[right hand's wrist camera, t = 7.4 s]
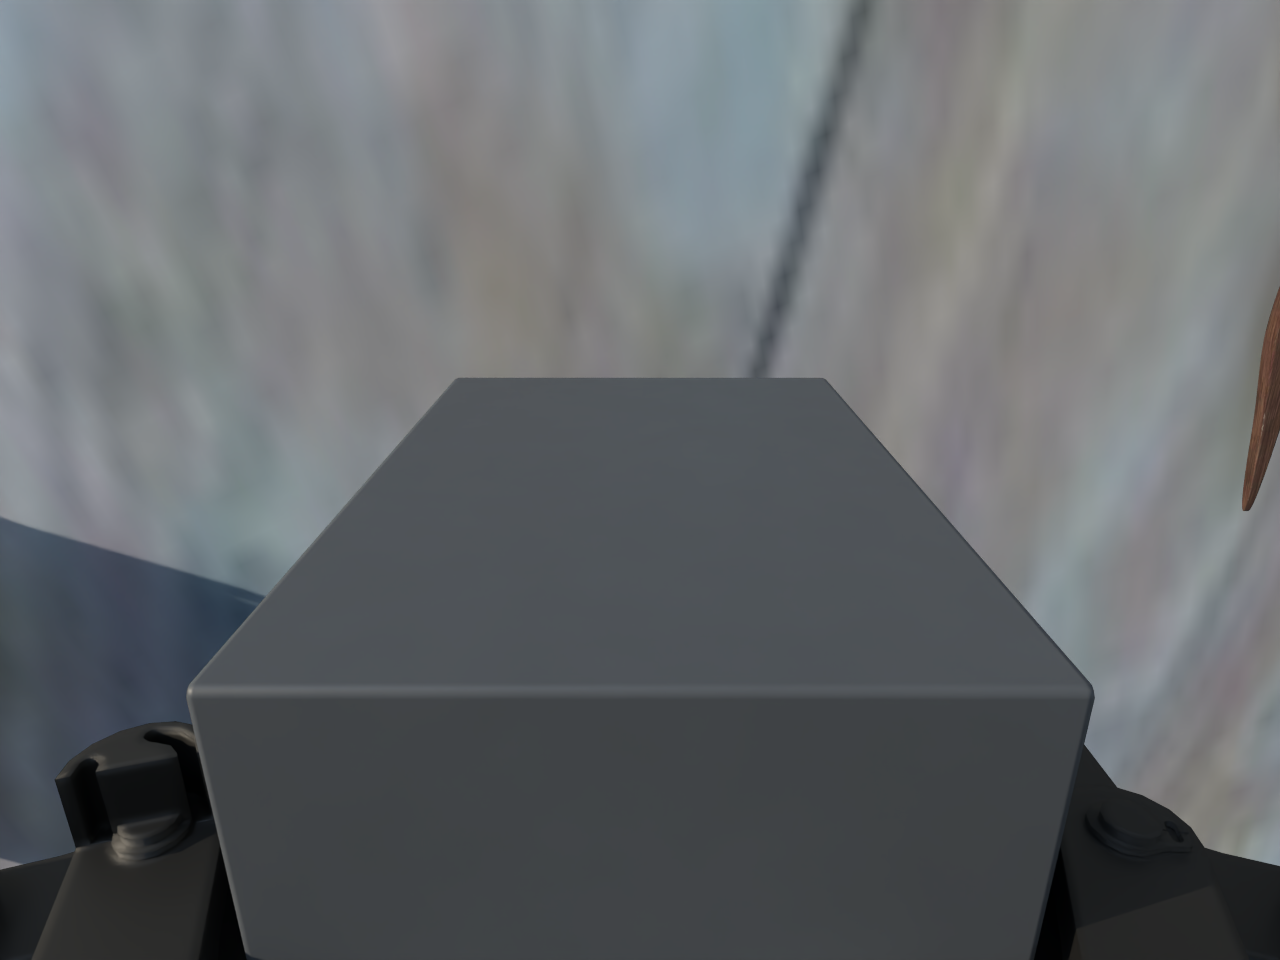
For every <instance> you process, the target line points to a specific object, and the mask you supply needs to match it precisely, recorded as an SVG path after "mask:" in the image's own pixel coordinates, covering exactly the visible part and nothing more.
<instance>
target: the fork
mask: <svg viewBox="0 0 1280 960" xmlns="http://www.w3.org/2000/svg"><path fill="white" fill-rule="evenodd" d="M1279 431H1280V287H1279V290H1278V293H1277V296H1276V299H1275V302H1274V305H1273V308H1272V311H1271V315H1270V318H1269V321H1268V325H1267V329H1266V333H1265V338H1264V343H1263V349H1262V355H1261V363H1260V371H1259V380H1258V389H1257V397H1256V406H1255V414H1254V421H1253V428H1252V434H1251V440H1250V446H1249V452H1248V458H1247V465H1246V471H1245V479H1244V487H1243V498H1242V509H1243V511H1249V510H1250V508H1251V507H1252V505H1253V503H1254V501H1255V498H1256V496H1257V493H1258V491H1259V488H1260V486H1261V483H1262V480H1263V478H1264V475H1265V472H1266V469H1267V466H1268V463H1269V461H1270V458H1271V455H1272V452H1273V449H1274V446H1275V443H1276V440H1277V437H1278V434H1279Z"/></svg>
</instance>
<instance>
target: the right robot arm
mask: <svg viewBox="0 0 1280 960" xmlns="http://www.w3.org/2000/svg"><path fill="white" fill-rule="evenodd" d="M55 782H56V785H57V788H58V792H59V795H60V798H61V801H62V805H63V808H64V811H65V814H66V817H67V821H68V824H69V827H70V830H71V833H72V837H73V840H74V843H75V846H76V850H75V852H72V853H68V854H65V855H62V856H58V857H54V858H50V859H45V860H41V861H36V862H32V863H28V864H23V865H19V866H15V867H10V868H6V869H2V870H0V960H247V958H246V954H245V950H244V945H243V941H242V937H241V932H240V928H239V924H238V919H237V915H236V911H235V906H234V902H233V898H232V893H231V889H230V885H229V880H228V876H227V872H226V868H225V863H224V859H223V855H222V850H221V846H220V842H219V837H218V833H217V829H216V824H215V820H214V816H213V811H212V807H211V803H210V798H209V794H208V790H207V785H206V781H205V777H204V773H203V768H202V764H201V760H200V755H199V751H198V747H197V742H196V738H195V734H194V729H193V725H191V724H186V723H181V722H176V721H174V722H161V723H149V724H145V725H141V726H138V727H134V728H130V729H126V730H123V731H120V732H117V733H115V734H113V735H111V736H109V737H107V738H105V739H102V740H100V741H98V742H96V743H94V744H92V745H91V746H89V747H88V748H86V749H85V750H84V751H82V752H81V753H80V754H78V755H77V756H75V757H74V758H73V759H71V760H70V761H69V762H68V763H67V764H66V766H65V767H64V768H63V770H62V771H61V772H60V773H59V775H58V776H57V777H56V779H55ZM1034 960H1280V866H1277V865H1272V864H1268V863H1263V862H1259V861H1255V860H1250V859H1246V858H1242V857H1237V856H1233V855H1229V854H1224V853H1221V852H1217V851H1214V850H1210V849H1207V848H1204V846H1203V845H1202V843H1201V842H1200V840H1199V839H1198V837H1197V836H1196V834H1195V833H1194V831H1193V830H1192V828H1191V827H1190V826H1188V825H1187V824H1186V823H1185V822H1184V821H1182V820H1181V819H1180V818H1179V817H1178V816H1176V815H1175V814H1174V813H1173V812H1172V811H1170V810H1169V809H1167V808H1165V807H1164V806H1162V805H1160V804H1158V803H1156V802H1154V801H1152V800H1150V799H1148V798H1146V797H1145V796H1143V795H1140V794H1136V793H1133V792H1130V791H1126V790H1123V789H1120V788H1117V787H1116V785H1115V784H1114V783H1113V781H1112V780H1111V779H1110V778H1109V776H1108V775H1107V774H1106V772H1105V771H1104V770H1103V768H1102V767H1101V766H1100V765H1099V763H1098V762H1097V761H1096V759H1095V758H1094V757H1093V755H1092V754H1091V753H1090V751H1089V750H1088V749H1087V748H1086V746H1085V745H1084V746H1083V750H1082V755H1081V759H1080V763H1079V768H1078V772H1077V776H1076V781H1075V785H1074V789H1073V793H1072V798H1071V802H1070V806H1069V811H1068V815H1067V819H1066V824H1065V828H1064V832H1063V836H1062V841H1061V845H1060V849H1059V854H1058V858H1057V862H1056V867H1055V871H1054V875H1053V879H1052V884H1051V888H1050V892H1049V897H1048V901H1047V905H1046V910H1045V914H1044V918H1043V922H1042V927H1041V931H1040V935H1039V940H1038V944H1037V948H1036V953H1035V957H1034Z"/></svg>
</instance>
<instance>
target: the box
mask: <svg viewBox="0 0 1280 960" xmlns="http://www.w3.org/2000/svg"><path fill="white" fill-rule="evenodd" d="M186 699H187V703H188V708H189V712H190V716H191V721H192V725H193V729H194V734H195V738H196V742H197V747H198V751H199V755H200V760H201V764H202V768H203V773H204V777H205V781H206V785H207V790H208V794H209V798H210V803H211V807H212V811H213V816H214V820H215V824H216V829H217V833H218V837H219V842H220V846H221V850H222V855H223V859H224V863H225V868H226V872H227V876H228V880H229V885H230V889H231V893H232V898H233V902H234V906H235V911H236V915H237V919H238V924H239V928H240V932H241V937H242V941H243V945H244V950H245V954H246V958H247V960H1034V957H1035V953H1036V948H1037V944H1038V940H1039V935H1040V931H1041V927H1042V922H1043V918H1044V914H1045V910H1046V905H1047V901H1048V897H1049V892H1050V888H1051V884H1052V879H1053V875H1054V871H1055V867H1056V862H1057V858H1058V854H1059V849H1060V845H1061V841H1062V836H1063V832H1064V828H1065V824H1066V819H1067V815H1068V811H1069V806H1070V802H1071V798H1072V793H1073V789H1074V785H1075V781H1076V776H1077V772H1078V768H1079V763H1080V759H1081V755H1082V750H1083V746H1084V742H1085V737H1086V733H1087V729H1088V725H1089V720H1090V716H1091V712H1092V707H1093V703H1094V699H1095V697H1094V690H1093V687H1092V685H1091V684H1090V682H1089V681H1088V680H1087V679H1086V678H1085V677H1084V676H1083V674H1082V673H1081V672H1080V671H1079V670H1078V669H1077V667H1076V666H1075V665H1074V664H1073V663H1072V662H1071V661H1070V659H1069V658H1068V657H1067V656H1066V655H1065V654H1064V653H1063V651H1062V650H1061V649H1060V648H1059V647H1058V646H1057V645H1056V643H1055V642H1054V641H1053V640H1052V639H1051V638H1050V636H1049V635H1048V634H1047V633H1046V632H1045V631H1044V630H1043V628H1042V627H1041V626H1040V625H1039V624H1038V623H1037V622H1036V620H1035V619H1034V618H1033V617H1032V616H1031V615H1030V614H1029V612H1028V611H1027V610H1026V609H1025V608H1024V607H1023V605H1022V604H1021V603H1020V602H1019V601H1018V600H1017V599H1016V597H1015V596H1014V595H1013V594H1012V593H1011V592H1010V591H1009V589H1008V588H1007V587H1006V586H1005V585H1004V584H1003V583H1002V581H1001V580H1000V579H999V578H998V577H997V576H996V574H995V573H994V572H993V571H992V570H991V569H990V568H989V566H988V565H987V564H986V563H985V562H984V561H983V560H982V558H981V557H980V556H979V555H978V554H977V553H976V552H975V550H974V549H973V548H972V547H971V546H970V545H969V544H968V542H967V541H966V540H965V539H964V538H963V537H962V535H961V534H960V533H959V532H958V531H957V530H956V529H955V527H954V526H953V525H952V524H951V523H950V522H949V521H948V519H947V518H946V517H945V516H944V515H943V514H942V513H941V511H940V510H939V509H938V508H937V507H936V506H935V504H934V503H933V502H932V501H931V500H930V499H929V498H928V496H927V495H926V494H925V493H924V492H923V491H922V490H921V488H920V487H919V486H918V485H917V484H916V483H915V482H914V480H913V479H912V478H911V477H910V476H909V475H908V473H907V472H906V471H905V470H904V469H903V468H902V467H901V465H900V464H899V463H898V462H897V461H896V460H895V459H894V457H893V456H892V455H891V454H890V453H889V452H888V451H887V449H886V448H885V447H884V446H883V445H882V444H881V442H880V441H879V440H878V439H877V438H876V437H875V436H874V434H873V433H872V432H871V431H870V430H869V429H868V428H867V426H866V425H865V424H864V423H863V422H862V421H861V420H860V418H859V417H858V416H857V415H856V414H855V413H854V411H853V410H852V409H851V408H850V407H849V406H848V405H847V403H846V402H845V401H844V400H843V399H842V398H841V397H840V395H839V394H838V393H837V392H836V391H835V390H834V389H833V387H832V386H831V385H830V384H829V383H828V382H827V380H826V379H823V378H457V379H455V380H454V381H453V382H452V384H451V385H450V386H449V387H448V388H447V389H446V390H445V392H444V393H443V394H442V395H441V396H440V397H439V398H438V400H437V401H436V402H435V403H434V404H433V405H432V407H431V408H430V409H429V410H428V411H427V412H426V413H425V415H424V416H423V417H422V418H421V419H420V420H419V421H418V423H417V424H416V425H415V426H414V427H413V428H412V429H411V431H410V432H409V433H408V434H407V435H406V436H405V438H404V439H403V440H402V441H401V442H400V443H399V444H398V446H397V447H396V448H395V449H394V450H393V451H392V452H391V454H390V455H389V456H388V457H387V458H386V459H385V460H384V462H383V463H382V464H381V465H380V466H379V467H378V468H377V470H376V471H375V472H374V473H373V474H372V475H371V477H370V478H369V479H368V480H367V481H366V482H365V483H364V485H363V486H362V487H361V488H360V489H359V490H358V491H357V493H356V494H355V495H354V496H353V497H352V498H351V499H350V501H349V502H348V503H347V504H346V505H345V506H344V507H343V509H342V510H341V511H340V512H339V513H338V514H337V516H336V517H335V518H334V519H333V520H332V521H331V522H330V524H329V525H328V526H327V527H326V528H325V529H324V530H323V532H322V533H321V534H320V535H319V536H318V537H317V538H316V540H315V541H314V542H313V543H312V544H311V545H310V547H309V548H308V549H307V550H306V551H305V552H304V553H303V555H302V556H301V557H300V558H299V559H298V560H297V561H296V563H295V564H294V565H293V566H292V567H291V568H290V569H289V571H288V572H287V573H286V574H285V575H284V576H283V577H282V579H281V580H280V581H279V582H278V583H277V584H276V586H275V587H274V588H273V589H272V590H271V591H270V592H269V594H268V595H267V596H266V597H265V598H264V599H263V600H262V602H261V603H260V604H259V605H258V606H257V607H256V608H255V610H254V611H253V612H252V613H251V614H250V615H249V616H248V618H247V619H246V620H245V621H244V622H243V623H242V625H241V626H240V627H239V628H238V629H237V630H236V631H235V633H234V634H233V635H232V636H231V637H230V638H229V639H228V641H227V642H226V643H225V644H224V645H223V646H222V647H221V649H220V650H219V651H218V652H217V653H216V654H215V655H214V657H213V658H212V659H211V660H210V661H209V662H208V664H207V665H206V666H205V667H204V668H203V669H202V670H201V672H200V673H199V674H198V675H197V676H196V677H195V678H194V680H193V681H192V682H191V683H190V684H189V686H188V689H187V695H186Z"/></svg>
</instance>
